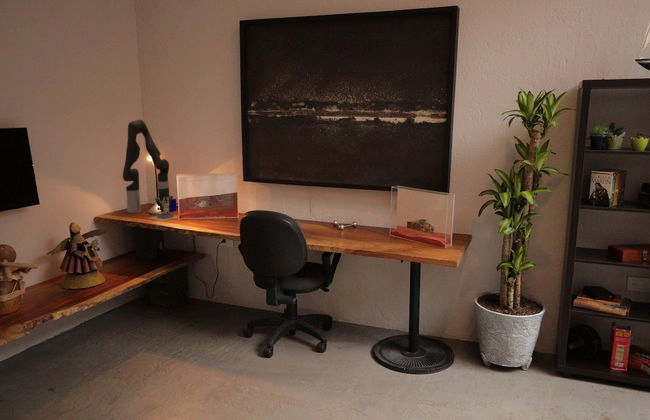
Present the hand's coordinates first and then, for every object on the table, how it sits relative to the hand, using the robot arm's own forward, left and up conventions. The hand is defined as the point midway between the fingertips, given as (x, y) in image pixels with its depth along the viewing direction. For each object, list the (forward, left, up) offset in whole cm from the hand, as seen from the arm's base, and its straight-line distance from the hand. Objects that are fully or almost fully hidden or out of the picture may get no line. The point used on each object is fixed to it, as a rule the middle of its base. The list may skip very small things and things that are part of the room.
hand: (165, 210), depth 377 cm
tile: (-5, 0, -4) cm, 7 cm away
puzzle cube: (-18, +15, -6) cm, 24 cm away
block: (0, 0, -1) cm, 1 cm away
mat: (-1, -1, -5) cm, 6 cm away
